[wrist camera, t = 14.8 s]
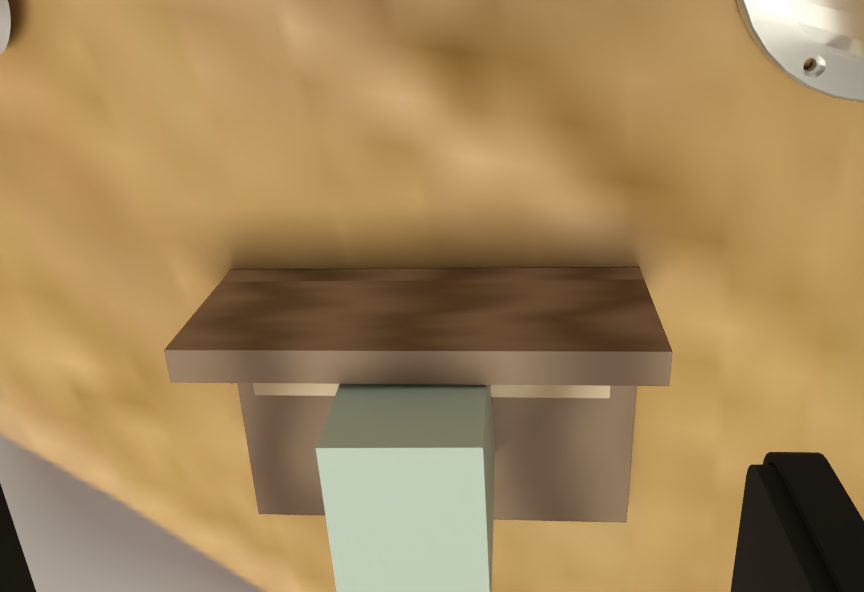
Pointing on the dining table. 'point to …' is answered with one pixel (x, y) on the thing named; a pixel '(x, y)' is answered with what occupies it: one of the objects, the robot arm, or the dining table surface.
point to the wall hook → (4, 24)
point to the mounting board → (440, 370)
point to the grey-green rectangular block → (409, 487)
